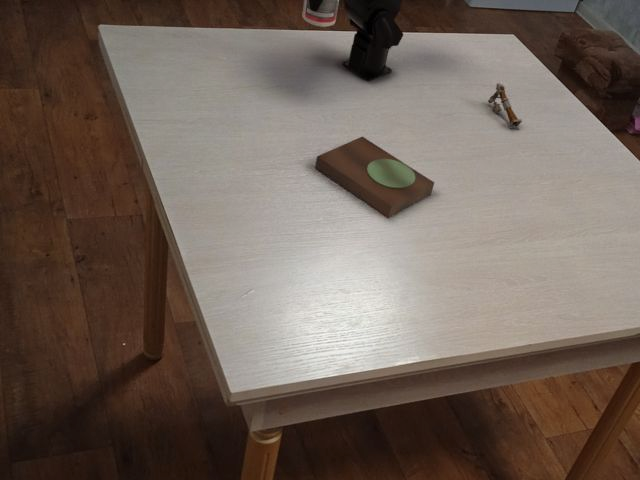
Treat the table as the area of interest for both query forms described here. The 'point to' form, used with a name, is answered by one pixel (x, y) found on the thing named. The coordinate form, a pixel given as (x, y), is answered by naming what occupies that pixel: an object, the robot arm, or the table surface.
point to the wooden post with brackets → (506, 104)
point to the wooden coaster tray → (374, 176)
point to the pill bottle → (321, 13)
